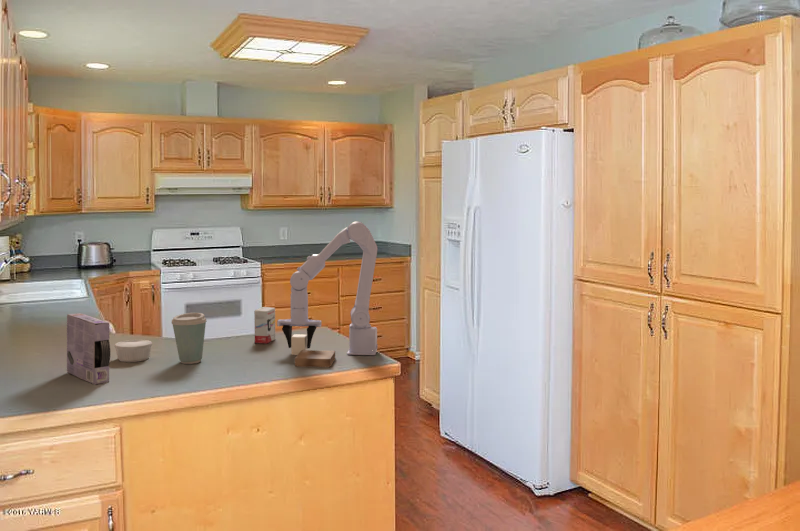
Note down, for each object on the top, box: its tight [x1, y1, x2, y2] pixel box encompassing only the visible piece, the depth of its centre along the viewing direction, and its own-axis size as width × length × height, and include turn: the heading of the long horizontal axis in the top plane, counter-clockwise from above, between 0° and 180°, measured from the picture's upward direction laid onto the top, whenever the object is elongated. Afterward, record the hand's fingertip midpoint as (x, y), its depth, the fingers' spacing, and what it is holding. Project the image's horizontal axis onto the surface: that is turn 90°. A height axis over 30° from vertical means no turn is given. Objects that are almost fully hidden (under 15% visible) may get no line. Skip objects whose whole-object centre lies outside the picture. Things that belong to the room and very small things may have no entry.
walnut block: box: [294, 349, 336, 368], centre depth 222 cm, size 11×11×3 cm
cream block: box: [290, 333, 308, 356], centre depth 234 cm, size 4×4×6 cm
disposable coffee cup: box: [171, 312, 207, 365], centre depth 220 cm, size 11×11×15 cm
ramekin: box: [114, 339, 153, 363], centre depth 224 cm, size 11×11×5 cm
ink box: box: [254, 306, 276, 345], centre depth 251 cm, size 9×5×12 cm, turn 168°
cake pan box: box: [66, 312, 111, 386], centre depth 201 cm, size 19×5×18 cm, turn 48°
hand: (299, 347), depth 234 cm, fingers open, 6 cm apart
